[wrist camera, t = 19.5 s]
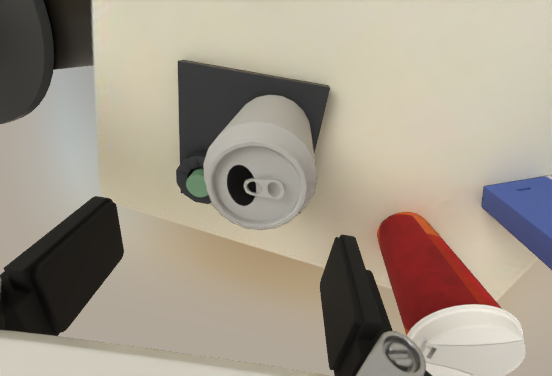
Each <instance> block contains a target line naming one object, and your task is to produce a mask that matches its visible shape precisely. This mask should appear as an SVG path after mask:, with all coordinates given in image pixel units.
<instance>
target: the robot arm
mask: <svg viewBox="0 0 552 376" xmlns="http://www.w3.org/2000/svg"><path fill="white" fill-rule="evenodd" d="M123 253H124V249H123V243H122V237H121V231H120V225H119V219H118V213H117V207H116V204H115V203H113V201H112V200H111V199H110V198H104V197H97V196H95V197H93V198H91V199H90V200H89V201H88V202H86V203H85V204H84V205H83V206H81V207H80V208H79V209H78V210H76V211H75V212H74V213H73V214H71V215H70V216H69V217H67V218H66V219H65V220H64V221H62V222H61V223H60V224H59V225H57V226H56V227H55V228H54V229H52V230H51V231H50V232H49V233H48V234H46V235H45V236H44V237H42V238H41V239H40V240H39V241H37V242H36V243H35V244H33V245H32V246H31V247H30V248H28V249H27V250H26V251H25V252H23V253H22V254H21V255H20V256H18V257H17V258H16V259H15V260H13V261H12V262H11V263H10V264H9V265H7V266H6V267H4V270H5V272H3V273H2V274H1V275H0V376H327V375H323V374H318V373H312V372H306V371H300V370H294V369H288V368H282V367H276V366H269V365H261V364H255V363H247V362H241V361H234V360H227V359H220V358H213V357H206V356H199V355H191V354H185V353H178V352H171V351H164V350H156V349H148V348H142V347H135V346H127V345H120V344H112V343H105V342H98V341H89V340H83V339H74V338H68V337H60V336H58V335H59V333H60V332H64V331H65V330H66V329H67V328H68V327H69V326H70V325H71V323H72V322H73V321H74V319H75V318H76V317H77V316H78V314H79V313H80V312H81V310H82V309H83V308H84V306H85V305H86V304H87V303H88V301H89V300H90V299H91V298H92V296H93V295H94V294H95V292H96V291H97V290H98V288H99V287H100V286H101V285H102V283H103V282H104V281H105V279H106V278H107V277H108V276H109V274H110V273H111V272H112V270H113V269H114V268H115V267H116V265H117V264H118V263H119V261H120V260H121V259H122V257H123ZM320 292H321V301H322V309H323V318H324V327H325V336H326V344H327V353H328V362H329V367H330V370H334V374H335V376H432V375H431V374H430V373H429V372H428V371H426V362H425V358H424V355H423V353H422V351H421V350H420V349H419V347H418V346H417V345H416V343H414V342H413V341H412V340H411V339H410V338H409V337H407V336H405V335H404V334H401V333H398V332H395V331H392V328H391V325H390V322H389V319H388V316H387V314H386V311H385V308H384V305H383V302H382V299H381V296H380V293H379V291H378V288H377V285H376V282H375V279H374V276H373V274H372V272H371V271H370V270H366V269H365V266H364V263H363V260H362V256H361V253H360V250H359V247H358V244H357V241H356V238H355V237H354V236H347V235H340V237H339V238H338V237H336V238H335V240H334V243H333V246H332V249H331V252H330V255H329V258H328V261H327V264H326V267H325V270H324V273H323V276H322V278H321V282H320Z"/></svg>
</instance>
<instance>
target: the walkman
mask: <svg viewBox="0 0 552 376" xmlns="http://www.w3.org/2000/svg"><path fill="white" fill-rule="evenodd" d="M482 208H483V209H485V210H486V211H487V212H488V213H489V214H490V215H491V216H492V217H493V218H495V219H496V220H497V221H498V222H499V223H500V224H501V225H502V226H503V227H505V228H506V229H507V230H508V231H509V232H510V233H511V234H512V235H513V236H515V237H516V238H517V239H518V240H519V241H520V242H521V243H522V244H523V245H525V246H526V247H527V248H528V249H529V250H530V251H531V252H532V253H533V254H535V255H536V256H537V257H538V258H539V259H540V260H541V261H542V262H544V263H545V264H546V265H547V266H548V267H549V268H550V269H551V270H552V175H549V176H544V177H538V178H532V179H526V180H520V181H514V182H507V183H501V184H495V185H489V186H484V192H483V200H482Z"/></svg>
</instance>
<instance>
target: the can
mask: <svg viewBox="0 0 552 376" xmlns="http://www.w3.org/2000/svg"><path fill="white" fill-rule="evenodd" d="M203 165H204V181H205V183H206V186H207V192H208V194H209V197H210V200H211V202H212V204H213V205H214V206H215V208H216V209H217V210H218V211H219V213H220V214H221V215H222V216H224V217H225V218H227V219H228V220H229V221H231V222H232V223H234V224H237V225H239V226H242V227H245V228H248V229H257V230H265V229H272V228H277V227H279V226H281V225H284V224H286V223H288V222H289V221H290V220H292V219H293V218H294V217H295V216H296V215H297V214H299V212H300V211H301V210H302V209H303V208H305V207H306V206H307V204H308V202H309V200H310V199H311V197H312V195H313V194H314V190H315V185H316V180H317V173H316V166H315V158H314V151H313V143H312V136H311V130H310V124H309V120H308V118H307V117H306V115H305V113H304V111H303V110H302V109H301V108H300V107H299V106H298V105H297V104H296V103H295V102H294V101H292V100H289V99H287V98H285V97H283V96H277V95H265V96H261V97H256V98H255V99H253V100H252V101H250V102H248V103H247V104H246V105H245V106H244V107H243V108H242V109H241V110H240V111H239V113H238V114H237V115H236V116H235V117H234V118H233V119H232V121H231V122H230V123H229V124H228V125H227V126H226V127H225V129H224V130H223V131H222V132H221V133H220V134H219V136H218V137H217V138H216V139H215V141H214V142H213V143H212V144H211V146H210V147H209V148H208V151H207V154H206V157H205V160H204V164H203Z"/></svg>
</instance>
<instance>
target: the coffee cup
mask: <svg viewBox="0 0 552 376" xmlns="http://www.w3.org/2000/svg"><path fill="white" fill-rule="evenodd" d="M377 237H378V242H379V246H380V249H381V253H382V256H383V259H384V263H385V266H386V269H387V273H388V276H389V279H390V283H391V286H392V289H393V292H394V296H395V299H396V302H397V306H398V309H399V312H400V315H401V318H402V322H403V325H404V328H405V332H406V335H407V337H409V338H410V339H411V340H412V341H413V342H414V343H416V345H417V346H418V347H419V349H420V350H421V351H422V353H423V355H424V358H425V362H426V371H428V372H429V373H430V374H431V375H432V376H504V375H506V374H508V373H510V372H512V371H513V370H514V369H516V368H517V367H518V366H519V365H520V364H521V362H522V361H523V360H524V358H525V356H526V348H525V343H524V341H523V337H524V336H523V332H522V327H521V325H520V323H519V321H518V320H517V319H516V318H515V316H513V315H512V314H511V313H509V312H508V311H505V310H503V309H502V308H501V307H500V306H499V305H498V303H497V302H496V301H495V300H494V299H493V298H492V296H491V295H490V294H489V293H488V292H487V291H486V289H485V288H484V287H483V286H482V285H481V284H480V282H479V281H478V280H477V279H476V278H475V276H474V275H473V274H472V273H471V272H470V271H469V269H468V268H467V267H466V266H465V265H464V264H463V262H462V261H461V260H460V259H459V258H458V257H457V255H456V254H455V253H454V252H453V251H452V250H451V248H450V247H449V246H448V245H447V244H446V243H445V241H444V240H443V239H442V238H441V237H440V236H439V235H438V233H437V232H436V231H435V230H434V229H433V228H432V227H431V225H430V224H429V223H428V222H427V221H426V220H425V219H424V218H423V217H421V216H420V215H418V214H415V213H411V212H402V213H397V214H394V215H392V216H390V217H388V218H387V219H385V220H384V221H383V222H382V223H381V225H380V226H379V229H378V232H377Z"/></svg>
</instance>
